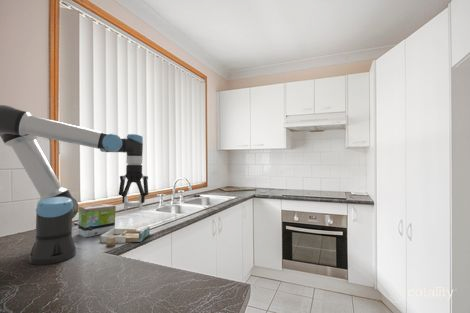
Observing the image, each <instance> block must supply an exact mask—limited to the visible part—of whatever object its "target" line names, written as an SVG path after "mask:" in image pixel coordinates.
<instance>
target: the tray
mask: <svg viewBox="0 0 470 313" xmlns="http://www.w3.org/2000/svg"><path fill="white" fill-rule="evenodd" d="M150 231H151V230H150V226H147V227H146V228H144V229H143V230H136V231H125V232H124V233H122V234H118V236H126V242H127V243H129V242H139V243H141V242H142V241H143V240H145V238H147V237H148V236H149V235H150Z"/></svg>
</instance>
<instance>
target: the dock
mask: <svg viewBox="0 0 470 313" xmlns="http://www.w3.org/2000/svg"><path fill="white" fill-rule="evenodd" d="M125 231H137V228H131V227H130V228H129V227H128V228H127V227H125V228H121V227H115V228H113V229H112V230H110V231H108V232H106V233H105V234H100V235H99V243H106V241H107V238H108V237H115V244H116V243H117V244H119V243H120V244H121V243H123V244H126V242H127V241H126V236H119V235H120V234H122V233H124V232H125Z"/></svg>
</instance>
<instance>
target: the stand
mask: <svg viewBox="0 0 470 313" xmlns="http://www.w3.org/2000/svg"><path fill="white" fill-rule="evenodd" d="M105 243H106V245H105V246H106V247H107V248H112V247H115V246H116V243H115V237H108V238H107V241H106V242H105Z"/></svg>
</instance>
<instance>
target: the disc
mask: <svg viewBox="0 0 470 313" xmlns="http://www.w3.org/2000/svg"><path fill="white" fill-rule="evenodd" d="M126 206H128V208H129V207H130V208H131V207H139V201H138V200H132V201H131V200H130V201H128V202H126Z"/></svg>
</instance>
